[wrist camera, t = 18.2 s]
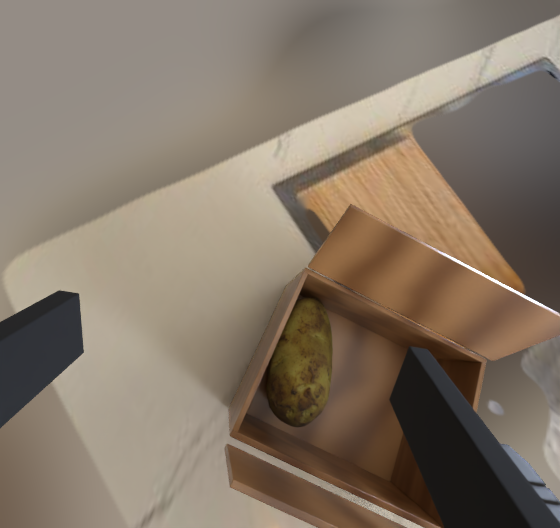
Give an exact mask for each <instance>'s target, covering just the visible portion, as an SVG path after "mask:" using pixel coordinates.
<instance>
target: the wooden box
mask: <svg viewBox="0 0 560 528" xmlns="http://www.w3.org/2000/svg"><path fill="white" fill-rule="evenodd" d="M304 297H310V298H315V299H318V300H319V301H320V302H321V303H322V304H323V305H324V307H325V309H326V311H327V314H328V317H329V321H330V325H331V331H332V346H333V354H332V375H331V384H330V392H329V398H328V401H327V404H326V406H325V407H324V410H323V411H322V413H321V414H320V415H319V416H318V417H317V418H315V419H314V420H313V421H312V422H311V423H309V424H308V425H306V426H303V427H292V426H290V425H287V424H286V423H284V422H282V421H280V420H279V419H278V418H277V417H276V416H275V415H274V413H273V412H272V410H271V408H269V404H268V399H267V379H268V366H269V361H270V358H271V356H272V354H273V352H274V349H275V347H276V345H277V343H278V340H279V338H280V336H281V334H282V331H283V329H284V327H285V325H286V322H287V320H288V318H289V316H290V313H291V311H292V309H293V307H294V304H295V302H296V300H298V299H301V298H304ZM409 346H411V347H417V348H423V349H428V350H429V352H430V353H431V354H432V355H433V357H434V358H435V359H436V361H437V362H438V363H439V365H440V366H441V367H442V369H443V370H444V371H445V373H446V374H447V375H448V376H449V378H450V379H451V380H452V382H453V383H454V384H455V386H456V387H457V388H458V390H459V391H460V392H461V393H462V395H463V396H464V397H465V399H466V400H467V401H468V403H469V404H470V405H471V407H472V408H473V409H474V411H475V412H477V407H478V402H479V396H480V391H481V386H482V381H483V375H484V371H485V364H486V359H484V358H482V357H480V356H478V355H476V354H474V353H472V352H470V351H468V350H466V349H465V348H463V347H461V346H459V345H457V344H455V343H453V342H451V341H449V340H447V339H445V338H443V337H441V336H439V335H437V334H435V333H433V332H431V331H429V330H427V329H425V328H423V327H421V326H419V325H417V324H415V323H413V322H411V321H410V320H408V319H406V318H404V317H402V316H400V315H398V314H396V313H394V312H392V311H390V310H388V309H386V308H384V307H382V306H380V305H378V304H376V303H374V302H372V301H370V300H368V299H366V298H364V297H362V296H360V295H358V294H356V293H355V292H353V291H351V290H349V289H347V288H345V287H343V286H341V285H339V284H337V283H335V282H333V281H331V280H329V279H327V278H325V277H323V276H321V275H319V274H317V273H315V272H313V271H311V270H309V269H307V268H305V269H304V270H303V271H302V272H300V273H299V274H298V275H297V276H296V277H295V278H294V279H293V280H292V281H291V282H290V283H288V284H287V285H286V287H285V289H284V291H283V293H282V296H281V298H280V300H279V302H278V304H277V306H276V308H275V311H274V313H273V315H272V317H271V319H270V321H269V323H268V326H267V328H266V330H265V332H264V334H263V336H262V338H261V341H260V343H259V345H258V347H257V349H256V351H255V353H254V356H253V358H252V360H251V362H250V364H249V366H248V368H247V371H246V373H245V375H244V377H243V379H242V381H241V383H240V386H239V388H238V390H237V392H236V394H235V396H234V398H233V401H232V403H231V405H230V407H229V432H230V436H231V437H233V438H235V439H237V440H239V441H241V442H244V443H246V444H248V445H250V446H252V447H254V448H256V449H258V450H261V451H263V452H265V453H267V454H269V455H271V456H273V457H275V458H278V459H280V460H282V461H284V462H286V463H288V464H290V465H292V466H295V467H297V468H299V469H301V470H303V471H305V472H307V473H309V474H312V475H314V476H316V477H318V478H320V479H322V480H324V481H326V482H329V483H331V484H333V485H335V486H337V487H339V488H341V489H343V490H346V491H348V492H350V493H352V494H354V495H356V496H358V497H360V498H363V499H365V500H367V501H369V502H371V503H373V504H375V505H377V506H380V507H382V508H384V509H386V510H388V511H390V512H392V513H394V514H397V515H399V516H401V517H403V518H405V519H407V520H409V521H411V522H414V523H416V524H418V525H420V526H422V527H424V528H444V526H443V523H442V521H441V519H440V516H439V514H438V512H437V509H436V507H435V505H434V502H433V500H432V498H431V495H430V493H429V491H428V489H427V486H426V484H425V482H424V479H423V477H422V475H421V472H420V470H419V468H418V465H417V463H416V461H415V458H414V456H413V454H412V451H411V449H410V447H409V444H408V442H407V440H406V438H405V435H404V433H403V431H402V428H401V426H400V424H399V421H398V419H397V417H396V414H395V412H394V410H393V407H392V405H391V403H390V400H389V399H390V396H391V393H392V391H393V388H394V385H395V383H396V380H397V377H398V374H399V372H400V369H401V366H402V364H403V361H404V358H405V356H406V353H407V350H408V348H409ZM225 455H226V462H227V469H228V476H229V483H230V487H231V488H233V489H235V490H237V491H240V492H242V493H244V494H246V495H248V496H250V497H253V498H255V499H257V500H259V501H261V502H263V503H266V504H268V505H270V506H272V507H274V508H276V509H279V510H281V511H283V512H285V513H287V514H289V515H292V516H294V517H296V518H298V519H300V520H303V521H305V522H307V523H309V524H311V525H313V526H316V527H318V528H406V527H404V526H402V525H400V524H398V523H396V522H393V521H391V520H389V519H387V518H385V517H383V516H381V515H379V514H376V513H374V512H372V511H370V510H368V509H366V508H364V507H361V506H359V505H357V504H355V503H353V502H351V501H349V500H347V499H344V498H342V497H340V496H338V495H336V494H334V493H332V492H330V491H327V490H325V489H323V488H321V487H319V486H317V485H315V484H312V483H310V482H308V481H306V480H304V479H302V478H300V477H298V476H295V475H293V474H291V473H289V472H287V471H285V470H283V469H280V468H278V467H276V466H274V465H272V464H270V463H268V462H266V461H263V460H261V459H259V458H257V457H255V456H253V455H251V454H248V453H246V452H244V451H242V450H240V449H238V448H236V447H234V446H231V445H229V444H226V446H225Z"/></svg>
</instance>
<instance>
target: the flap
mask: <svg viewBox="0 0 560 528" xmlns="http://www.w3.org/2000/svg"><path fill="white" fill-rule="evenodd" d="M308 267H309V268H311V269H313V270H315V271H317V272H319V273H321V274H323V275H325V276H327V277H329V278H331V279H333V280H335V281H337V282H339V283H340V284H342V285H344V286H346V287H348V288H350V289H352V290H354V291H356V292H358V293H360V294H362V295H364V296H366V297H368V298H370V299H372V300H374V301H376V302H378V303H380V304H382V305H384V306H386V307H388V308H390V309H392V310H393V311H395V312H397V313H399V314H401V315H403V316H405V317H407V318H409V319H411V320H413V321H415V322H417V323H419V324H421V325H423V326H425V327H427V328H429V329H431V330H433V331H435V332H437V333H439V334H441V335H443V336H445V337H446V338H448V339H450V340H452V341H454V342H456V343H458V344H460V345H462V346H464V347H466V348H468V349H470V350H472V351H474V352H476V353H478V354H480V355H482V356H484V357H486V358H488V359H490V360H492V361H494V360H497V359H500V358H502V357H504V356H507V355H510V354H512V353H515V352H518V351H520V350H523V349H525V348H528V347H531V346H533V345H536V344H538V343H541V342H543V341H546V340H549V339H551V338H554V337H556V336H559V335H560V314H559V313H557V312H555V311H554V310H552V309H550V308H548V307H545V306H544V305H542V304H540V303H538V302H536V301H534V300H533V299H531V298H529V297H527V296H525V295H523V294H521V293H519V292H517V291H515V290H514V289H512V288H510V287H508V286H506V285H504V284H502V283H500V282H498V281H496V280H495V279H493V278H491V277H489V276H487V275H485V274H483V273H481V272H479V271H477V270H476V269H474V268H472V267H470V266H468V265H466V264H464V263H462V262H460V261H458V260H457V259H455V258H453V257H451V256H449V255H447V254H445V253H443V252H441V251H439V250H437V249H436V248H434V247H432V246H430V245H428V244H426V243H424V242H422V241H420V240H418V239H417V238H415V237H413V236H411V235H409V234H407V233H405V232H403V231H401V230H399V229H398V228H396V227H394V226H392V225H390V224H388V223H386V222H384V221H382V220H380V219H379V218H377V217H375V216H373V215H371V214H369V213H367V212H365V211H363V210H361V209H359V208H358V207H356V206H354V205H352V204H350V206H349V207H348V209H347V210H346V211H345V213H344V214H343V216H342V217H341V219H340V220H339V221H338V223H337V224H336V226H335V227H334V229H333V230H332V231H331V233H330V234H329V236H328V237H327V239H326V240H325V242H324V243H323V244H322V246H321V247H320V249H319V250H318V252H317V253H316V254H315V256H314V257H313V259H312V260H311V262H310V263H309V265H308Z"/></svg>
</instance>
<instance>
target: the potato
mask: <svg viewBox="0 0 560 528" xmlns="http://www.w3.org/2000/svg"><path fill="white" fill-rule="evenodd" d="M332 354H333V346H332V331H331V325H330V321H329V317H328V314H327V311H326V309H325V307H324V305H323V304H322V303H321V302H320V301H319V300H318V299H315V298H310V297H304V298H301V299H298V300H296V302H295V304H294V307H293V309H292V311H291V313H290V316H289V318H288V320H287V322H286V325H285V327H284V329H283V331H282V334H281V336H280V338H279V340H278V343H277V345H276V347H275V349H274V352H273V354H272V356H271V358H270V361H269V366H268V379H267V399H268V404H269V408H271V410H272V412H273V413H274V415H275V416H276V417H277V418H278V419H279V420H280V421H282V422H284V423H286V424H287V425H290V426H292V427H303V426H306V425H308V424H309V423H311V422H312V421H313V420H314V419H315V418H317V417H318V416H319V415H320V414H321V413H322V411H323V410H324V407H325V406H326V404H327V401H328V398H329V392H330V384H331V375H332Z"/></svg>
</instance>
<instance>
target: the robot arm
mask: <svg viewBox="0 0 560 528" xmlns="http://www.w3.org/2000/svg"><path fill="white" fill-rule="evenodd" d="M83 353H84V350H83V338H82V325H81V313H80V300H79V294H78V293H72V292H66V291H57V292H55V293H53V294H52V295H50V296H48V297H46V298H44V299H42V300H40V301H39V302H37V303H35V304H33V305H31V306H29V307H27V308H26V309H24V310H22V311H20V312H18V313H16V314H14V315H13V316H11V317H9V318H7V319H5V320H3V321H1V322H0V428H1V427H2V426H3V425H4V424H5V423H6V422H8V421H9V420H10V419H11V418H12V417H13V416H14V415H15V414H16V413H17V412H19V410H21V409H22V408H23V407H24V406H25V405H26V404H27V403H29V402H30V401H31V400H32V399H33V398H34V397H35V396H36V395H37V394H38V393H39V392H41V391H42V390H43V389H44V388H45V387H46V386H47V385H48V384H50V383H51V382H52V381H53V380H54V379H55V378H56V377H57V376H58V375H59V374H61V373H62V372H63V371H64V370H65V369H66V368H67V367H68V366H69V365H70V364H72V363H73V362H74V361H75V360H76V359H77V358H78V357H79V356H80V355H82V354H83ZM389 400H390V403H391V405H392V407H393V410H394V412H395V414H396V417H397V419H398V421H399V424H400V426H401V428H402V431H403V433H404V435H405V438H406V440H407V442H408V444H409V447H410V449H411V451H412V454H413V456H414V458H415V461H416V463H417V465H418V468H419V470H420V472H421V475H422V477H423V479H424V482H425V484H426V486H427V489H428V491H429V493H430V495H431V498H432V500H433V502H434V505H435V507H436V509H437V512H438V514H439V516H440V519H441V521H442V523H443V526H444V528H560V501H559V500H558V499H557V498H556V496H555V495H554V494H553V493H552V491H551V490H550V489H549V488H546V486H545V485H546V484H545V483H544V482H543V480H542V479H541V478H540V477H539V475H538V474H537V473H536V472H535V471H534V469H533V468H532V467H531V465H530V464H529V463H528V462H527V461H526V460H525V459H523V458H522V457H521V456H520V455H519V454H518V453H517V452H515V451H514V450H513V449H512V448H511V447H510V446H509V445H505V444H500V443H499V442H498V441H497V439H496V438H495V437H494V435H493V434H492V433H491V432H490V430H489V429H488V428H487V427H486V425H485V424H484V422H483V421H482V420H481V419H480V417H479V416H478V414H477V413H476V412H475V411H474V409H473V408H472V407H471V405H470V404H469V403H468V401H467V400H466V399H465V397H464V396H463V395H462V393H461V392H460V391H459V390H458V388H457V387H456V386H455V384H454V383H453V382H452V380H451V379H450V378H449V376H448V375H447V374H446V373H445V371H444V370H443V369H442V367H441V366H440V365H439V363H438V362H437V361H436V359H435V358H434V357H433V355H432V354H431V353H430V352H429V350H428V349H423V348H417V347H411V346H409V348H408V350H407V353H406V356H405V358H404V361H403V364H402V366H401V369H400V372H399V374H398V377H397V380H396V383H395V385H394V388H393V391H392V393H391V396H390V399H389Z"/></svg>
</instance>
